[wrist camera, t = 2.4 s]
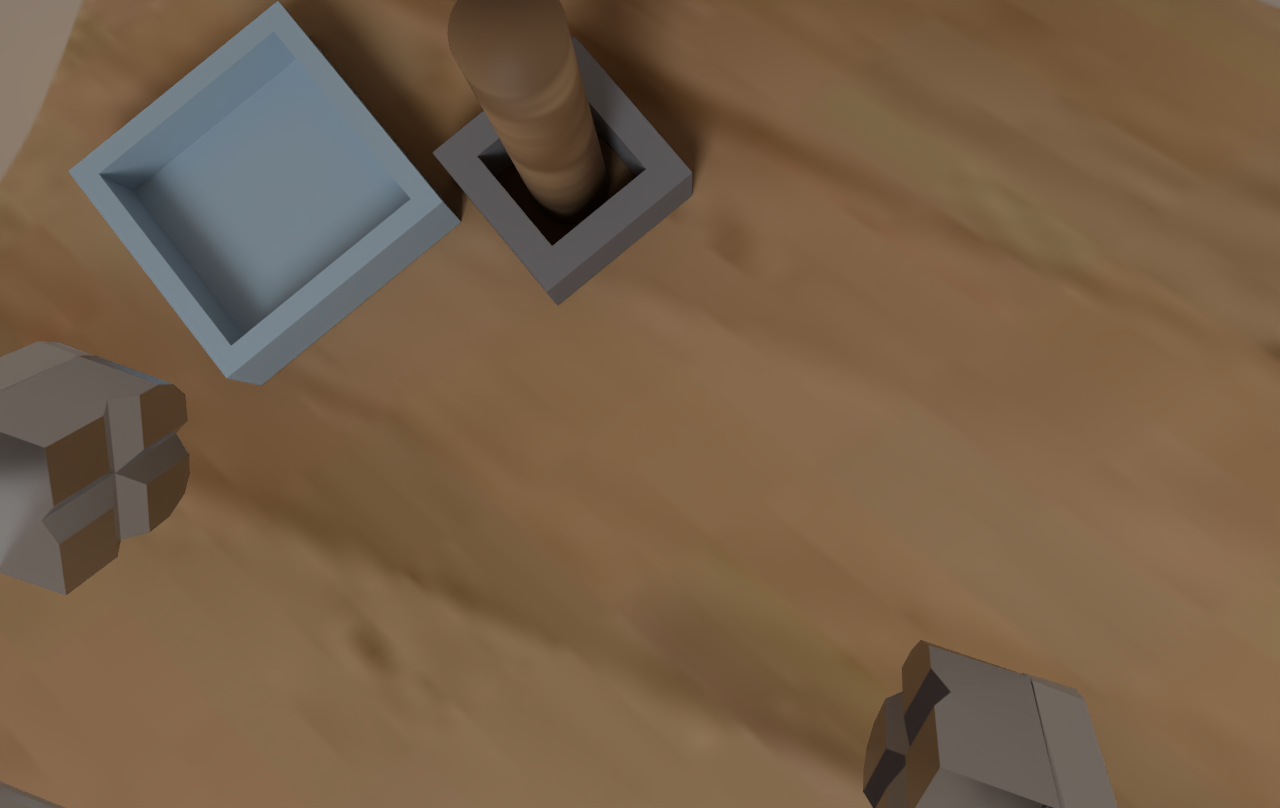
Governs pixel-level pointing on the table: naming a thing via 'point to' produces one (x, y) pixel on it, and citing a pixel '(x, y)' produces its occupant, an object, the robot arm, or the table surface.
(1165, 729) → the table surface
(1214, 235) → the table surface
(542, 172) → the dowel
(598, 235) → the socket block
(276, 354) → the tray
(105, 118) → the table surface
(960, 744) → the robot arm
